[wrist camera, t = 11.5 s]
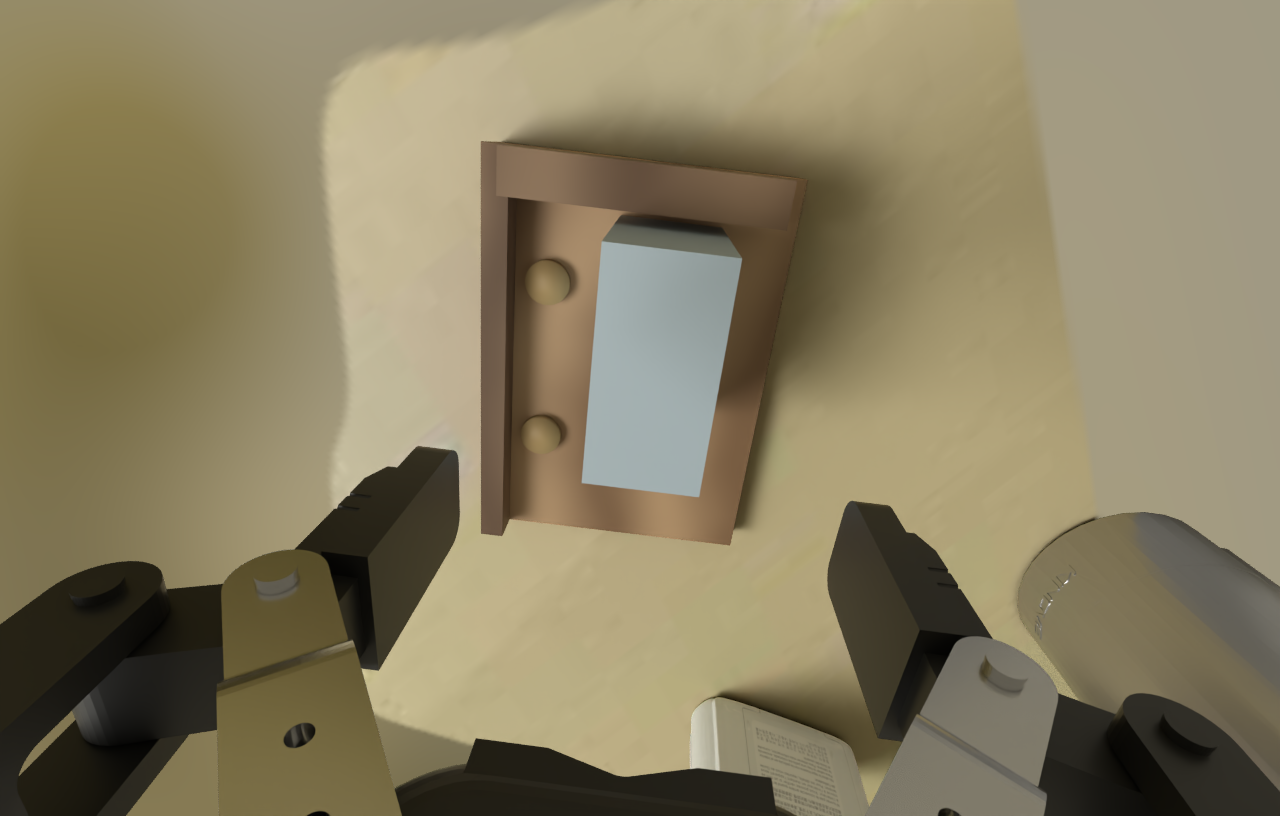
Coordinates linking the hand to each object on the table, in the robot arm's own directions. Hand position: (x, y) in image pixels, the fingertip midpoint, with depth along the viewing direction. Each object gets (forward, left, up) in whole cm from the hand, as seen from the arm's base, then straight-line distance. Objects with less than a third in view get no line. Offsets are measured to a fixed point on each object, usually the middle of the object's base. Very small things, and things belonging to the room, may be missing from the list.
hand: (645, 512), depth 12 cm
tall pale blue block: (0, 0, -14) cm, 14 cm away
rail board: (+1, +2, -15) cm, 15 cm away
